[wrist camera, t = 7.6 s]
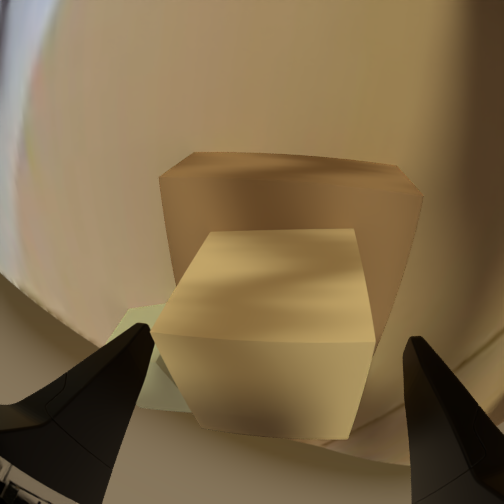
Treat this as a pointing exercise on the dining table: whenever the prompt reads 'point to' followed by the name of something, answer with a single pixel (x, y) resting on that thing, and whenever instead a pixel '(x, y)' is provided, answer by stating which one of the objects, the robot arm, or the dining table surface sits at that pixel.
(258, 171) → the pedestal
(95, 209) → the dining table surface
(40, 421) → the robot arm
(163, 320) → the oak cube
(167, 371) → the sage block
